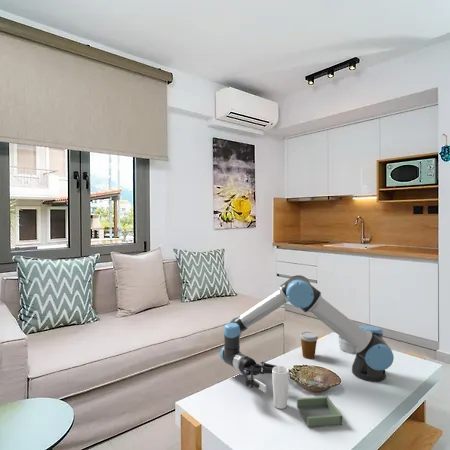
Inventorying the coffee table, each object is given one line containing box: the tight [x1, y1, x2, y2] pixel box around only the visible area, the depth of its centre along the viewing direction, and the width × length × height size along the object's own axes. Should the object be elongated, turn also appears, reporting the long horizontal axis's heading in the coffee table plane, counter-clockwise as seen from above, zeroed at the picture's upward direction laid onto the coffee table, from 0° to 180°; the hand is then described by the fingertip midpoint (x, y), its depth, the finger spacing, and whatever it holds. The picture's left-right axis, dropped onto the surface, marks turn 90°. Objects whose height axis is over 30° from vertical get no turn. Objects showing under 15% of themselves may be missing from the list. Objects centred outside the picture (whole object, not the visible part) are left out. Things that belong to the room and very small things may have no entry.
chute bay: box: [296, 396, 343, 429], centre depth 129 cm, size 13×13×4 cm
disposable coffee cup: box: [299, 331, 319, 360], centre depth 181 cm, size 10×10×12 cm
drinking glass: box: [271, 365, 290, 410], centre depth 135 cm, size 7×7×15 cm
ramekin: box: [338, 335, 356, 354], centre depth 190 cm, size 13×13×7 cm
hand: (277, 383), depth 136 cm, fingers open, 13 cm apart
